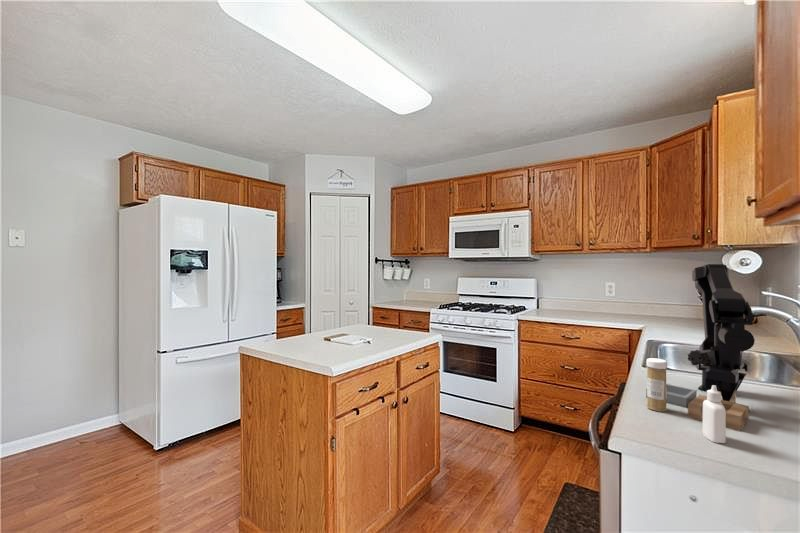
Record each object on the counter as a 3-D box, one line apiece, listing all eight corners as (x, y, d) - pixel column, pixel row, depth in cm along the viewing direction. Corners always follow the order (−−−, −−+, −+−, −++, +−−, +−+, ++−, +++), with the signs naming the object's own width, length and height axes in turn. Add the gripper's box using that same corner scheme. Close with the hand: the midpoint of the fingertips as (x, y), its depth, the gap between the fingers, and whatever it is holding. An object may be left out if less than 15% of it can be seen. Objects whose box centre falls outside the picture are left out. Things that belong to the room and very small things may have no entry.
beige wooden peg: (721, 405, 103) (721, 380, 103) (736, 408, 101) (737, 383, 101) (718, 408, 101) (718, 382, 101) (733, 412, 99) (734, 385, 99)
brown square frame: (699, 407, 102) (699, 394, 102) (748, 419, 94) (748, 405, 94) (688, 417, 96) (688, 403, 96) (740, 431, 88) (740, 416, 88)
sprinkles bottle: (669, 409, 101) (670, 360, 100) (662, 413, 98) (662, 362, 98) (650, 404, 104) (651, 356, 104) (643, 408, 102) (643, 359, 102)
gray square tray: (657, 390, 115) (657, 381, 115) (696, 399, 108) (696, 390, 108) (646, 397, 109) (646, 388, 109) (686, 407, 102) (686, 398, 102)
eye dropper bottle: (728, 437, 85) (728, 385, 85) (724, 445, 81) (725, 391, 81) (703, 431, 88) (703, 380, 88) (699, 438, 84) (699, 386, 84)
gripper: (700, 334, 113) (700, 385, 113) (681, 343, 101) (680, 400, 102) (750, 340, 104) (749, 395, 104) (735, 350, 93) (734, 413, 93)
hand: (727, 400), depth 101 cm, fingers closed on beige wooden peg, 3 cm apart
